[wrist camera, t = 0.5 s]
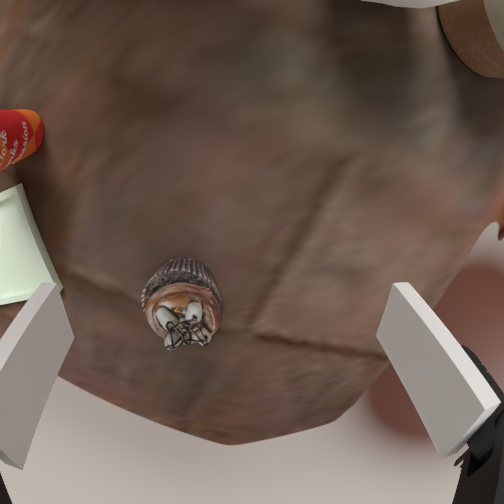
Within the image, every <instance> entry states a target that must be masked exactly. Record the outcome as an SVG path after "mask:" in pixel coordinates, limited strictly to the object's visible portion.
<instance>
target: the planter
mask: <svg viewBox="0 0 504 504" xmlns="http://www.w3.org/2000/svg"><path fill="white" fill-rule="evenodd" d="M438 11H439V17H440V21H441V24H442V27H443V30H444V32H445V35H446V37H447V39H448V41H449V43H450V44H451V46H452V48H453V49H454V51H455V52H456V54H457V55H458V56H459V58H460V59H461V60H462V61H463V62H464V63H465V64H466V65H467V66H468V67H469V68H470V69H472V70H473V71H474V72H476V73H478V74H480V75H482V76H485V77H494V78H504V0H459V1H455V2H450V3H446V4H441V5H438Z"/></svg>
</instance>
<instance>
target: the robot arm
mask: <svg viewBox="0 0 504 504" xmlns="http://www.w3.org/2000/svg"><path fill="white" fill-rule="evenodd" d="M376 337H377V338H378V340H379V342H380V344H381V345H382V347H383V349H384V351H385V352H386V354H387V356H388V358H389V360H390V361H391V363H392V365H393V366H394V369H395V370H396V372H397V374H398V376H399V378H400V380H401V381H402V383H403V385H404V387H405V389H406V390H407V392H408V395H409V396H410V398H411V400H412V402H413V404H414V406H415V408H416V410H417V412H418V414H419V416H420V417H421V419H422V422H423V424H424V425H425V427H426V429H427V431H428V433H429V435H430V437H431V440H432V442H433V444H434V446H435V448H436V450H437V452H438V454H439V456H440V458H441V459H442V458H445V457H447V456H450V455H452V454H454V453H456V452H458V451H459V450H460V449H461V448H462V447H463V446H464V445H465V444H466V443H467V444H468V446H469V449H468V450H467V451H466V452H465V453H464V454H463V455H462V456H460V457H459V458H458V459H457V460H456V462H455V464H454V466H457V465H458V464H459V463H460V462H461V461H462V460H463V459H464V461H463V464H462V465H461V466H460V467H461V468H462V470H461V474H460V478H459V482H458V485H457V489H456V493H455V496H454V499H453V503H452V504H504V393H503V392H502V391H501V389H500V388H499V386H498V385H497V383H496V382H495V381H494V379H493V378H492V376H491V375H490V374H489V373H487V370H486V368H485V367H484V366H483V365H481V362H480V360H479V359H478V358H477V356H476V355H475V354H474V353H473V352H472V351H470V350H469V349H468V348H467V347H465V346H464V345H462V346H460V344H459V343H458V342H457V341H456V339H455V338H454V337H453V335H452V334H451V333H450V332H449V331H448V329H447V328H446V327H445V326H444V324H443V323H442V322H441V321H440V319H439V318H438V317H437V316H436V314H435V313H434V312H433V311H432V310H431V308H430V307H429V306H428V305H427V304H426V302H425V301H424V300H423V299H422V298H421V296H420V295H419V294H418V293H417V292H416V291H415V290H414V288H413V287H412V286H411V285H410V284H409V283H408V282H405V283H393V285H392V289H391V292H390V295H389V298H388V301H387V305H386V308H385V311H384V314H383V317H382V320H381V323H380V325H379V328H378V331H377V334H376ZM73 340H74V335H73V332H72V329H71V327H70V324H69V321H68V318H67V315H66V312H65V308H64V305H63V302H62V299H61V295H60V292H59V288H58V285H57V283H44V282H42V283H41V284H40V285H39V286H38V288H37V289H36V290H35V292H34V293H33V294H32V296H31V297H30V298H29V300H28V301H27V302H26V304H25V305H24V306H23V308H22V309H21V311H20V312H19V313H18V315H17V316H16V318H15V319H14V320H13V322H12V323H11V325H10V326H9V328H8V329H7V331H6V332H5V334H4V335H3V337H2V338H1V340H0V459H1V460H2V461H3V462H4V463H5V464H8V465H10V466H13V467H16V468H18V469H21V470H23V467H24V464H25V461H26V457H27V454H28V451H29V448H30V445H31V442H32V439H33V436H34V433H35V430H36V428H37V425H38V422H39V419H40V417H41V414H42V411H43V409H44V406H45V404H46V401H47V399H48V396H49V394H50V391H51V389H52V386H53V384H54V382H55V379H56V377H57V375H58V372H59V370H60V368H61V366H62V363H63V361H64V359H65V357H66V354H67V352H68V350H69V348H70V346H71V344H72V342H73ZM0 504H12V502H11V499H10V497H9V494H8V492H7V489H6V487H5V484H4V481H3V479H2V476H1V473H0Z"/></svg>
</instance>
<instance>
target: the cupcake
mask: <svg viewBox="0 0 504 504" xmlns="http://www.w3.org/2000/svg"><path fill="white" fill-rule="evenodd" d="M142 293H143V295H142V296H141V297H142V298H143V299H142V300H141V302H143V304H142V307H145V308H144V310H143V311H144V312H145V313H146V314H145V315H146V317H147V320H148V322H149V324H150V326H151V327H152V328H153V329H154V331H155V332H156V333H157V334H158V335H159V336H160V337H161V338H163V339H165V341H164V345H165V347H166V348H167V349H169V350H172V351H173V350H175V349H176V348H178V347H179V346H180V345H182V344H185V345H189V344H192V343H197V342H198V343H199V344H201V345H202V346H206V345H207V344H208V342H209V341H210V340H211V336H212V335H213V334H214V333H215V332H216V331H217V330H218V328H219V327H220V325H221V319H222V316H221V314H222V308H223V304H222V300H221V297H220V295H219V292H218V289H217V286H216V284H215V281H214V279H213V276H212V274H211V272H210V270H209V269H208V268H207V267H205V266H204V265H203V264H202V263H201V262H199V261H196V260H194V259H190V258H181V257H178V258H176V259H171V260H168V261H166V262H165V263H164V264H163V265H161V266H160V267H159V269H158V270H157V271H156V273H155V274H154V275H153V277H152V278H151V279H150V280H149V282H148V284H147V285H146V286H145V289H144V290H143V292H142Z"/></svg>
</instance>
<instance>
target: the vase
mask: <svg viewBox="0 0 504 504" xmlns="http://www.w3.org/2000/svg"><path fill="white" fill-rule="evenodd" d="M361 1H369V2H376V3H383V4H387V5H391V6H396V7H411V8H425V7H433V6H437V5H441V4H446V3H450V2H455V1H459V0H361Z"/></svg>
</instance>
